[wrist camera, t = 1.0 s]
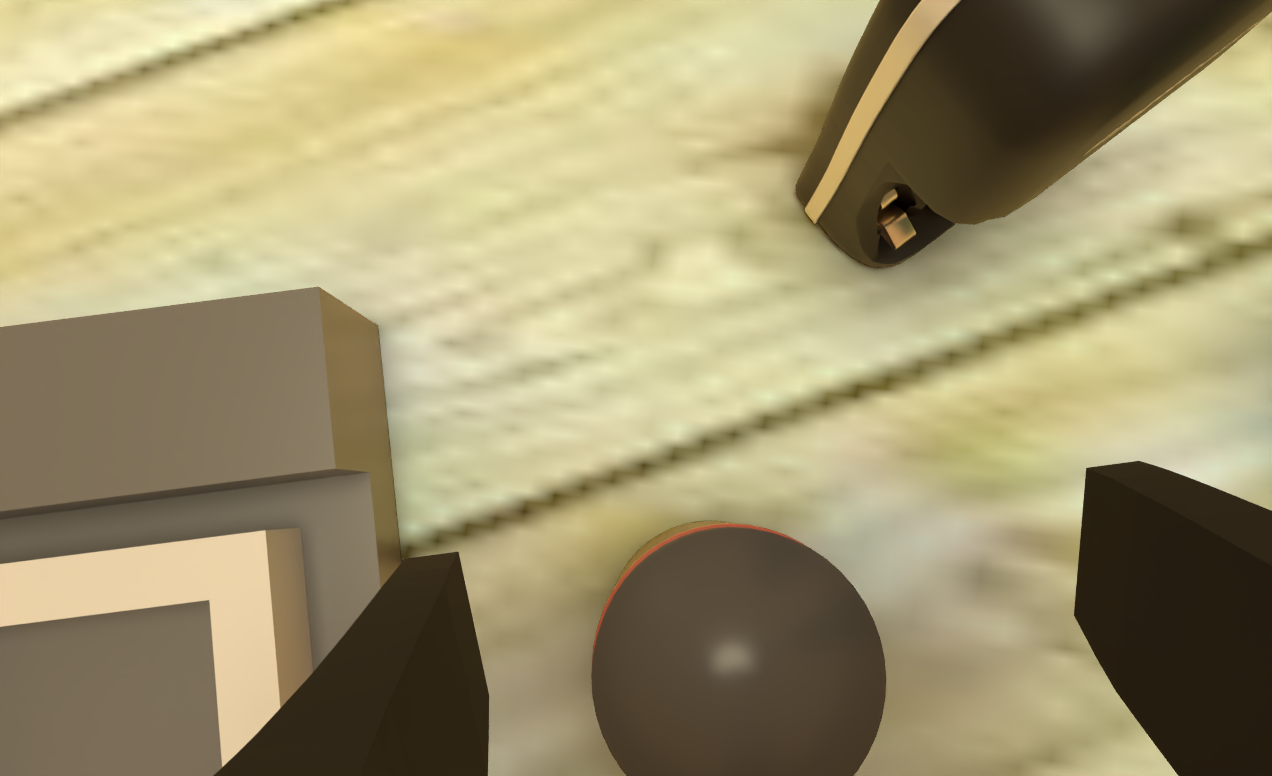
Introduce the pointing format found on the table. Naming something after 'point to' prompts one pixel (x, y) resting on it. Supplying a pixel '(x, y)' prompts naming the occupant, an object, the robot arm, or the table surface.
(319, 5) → the table surface
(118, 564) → the base with square socket
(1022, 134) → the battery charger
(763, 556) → the lens
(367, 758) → the robot arm
